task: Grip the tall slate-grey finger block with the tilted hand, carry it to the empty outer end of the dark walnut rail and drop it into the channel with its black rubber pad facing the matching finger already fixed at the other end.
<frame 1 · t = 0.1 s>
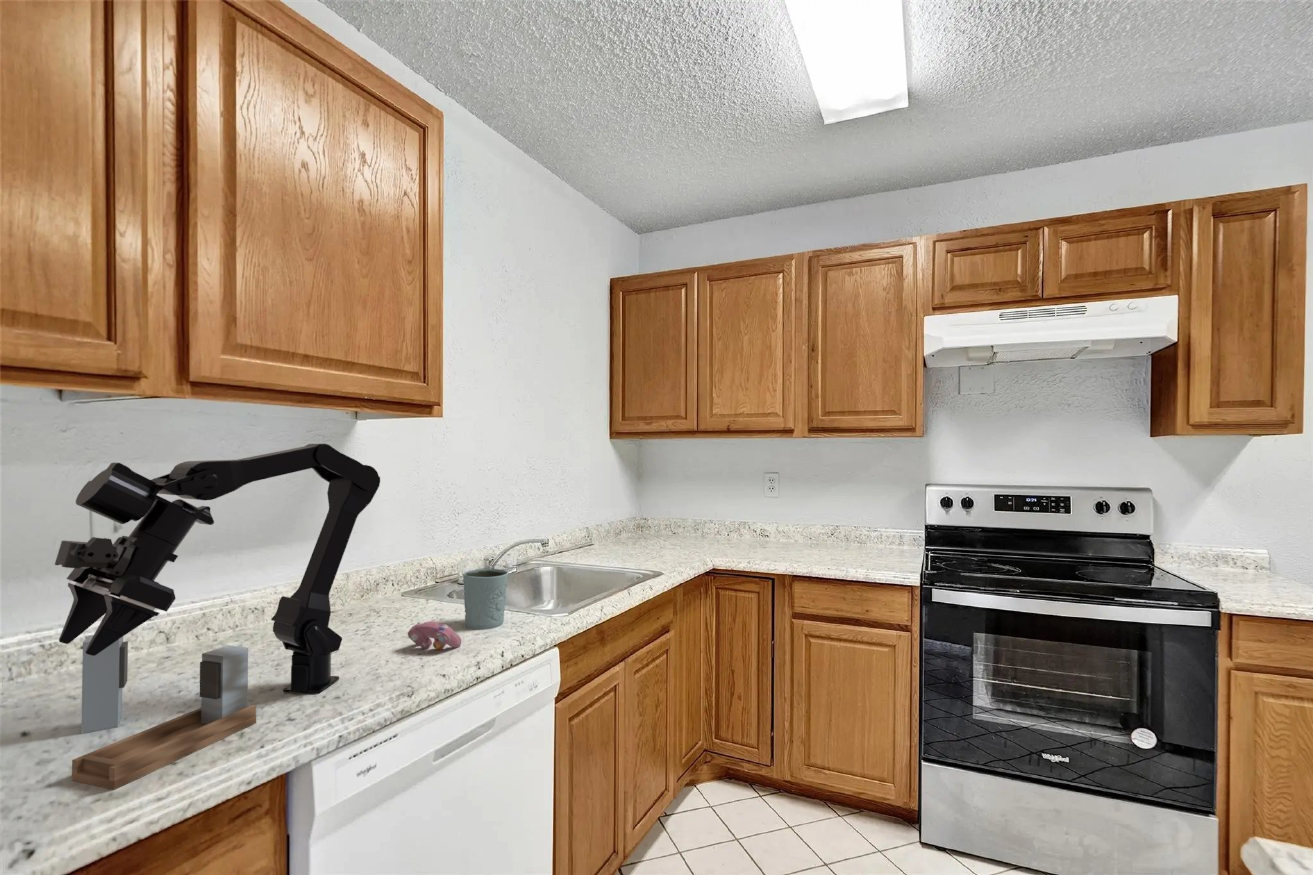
hand: (75, 648, 81), 15 cm above the countertop, tool tilted 35°, fingers open, 9 cm apart
walnut rail: (172, 748, 85), on the countertop
slate finger: (102, 725, 93), on the countertop
video game controller: (434, 649, 128), on the countertop
grey green cup: (485, 624, 146), on the countertop
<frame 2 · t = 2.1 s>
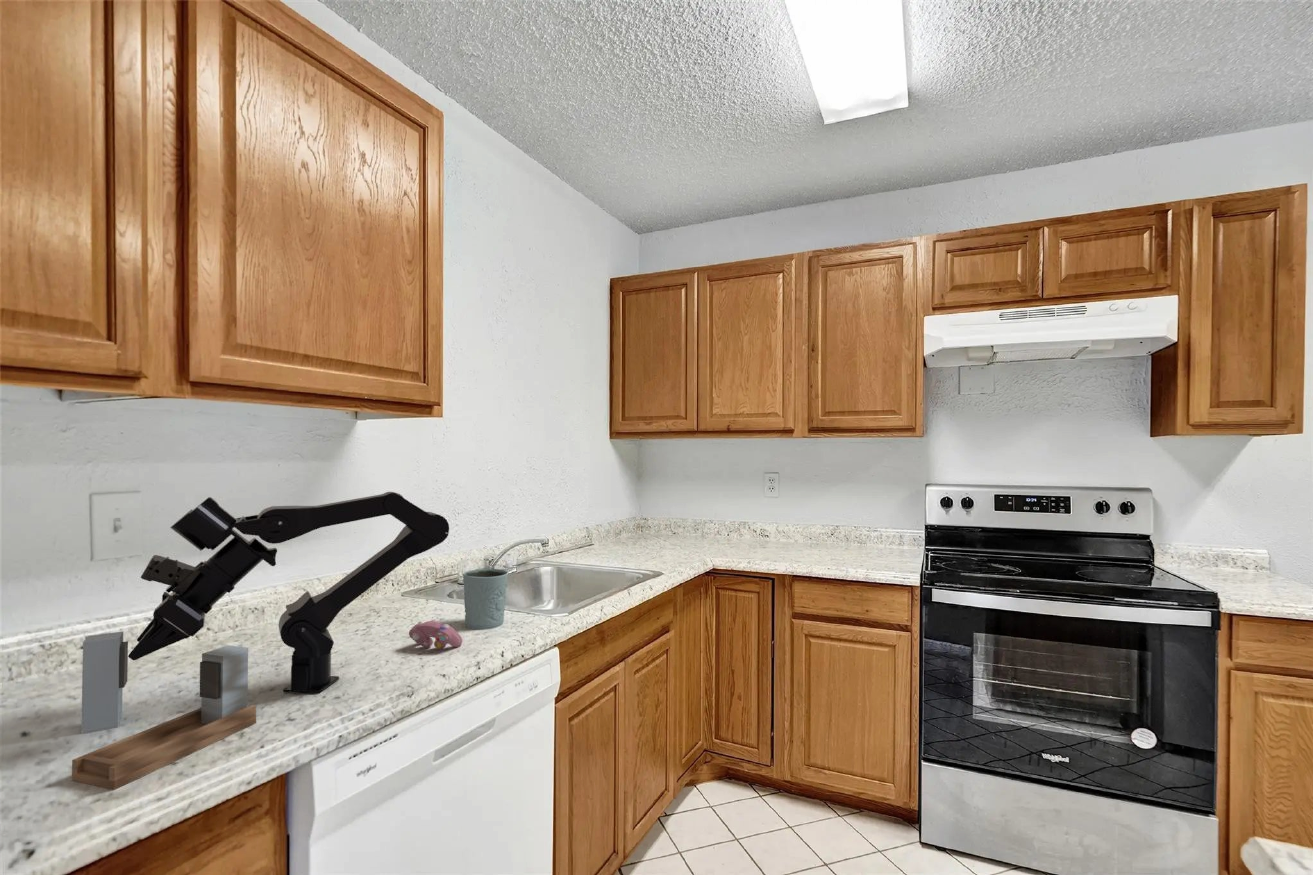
hand: (135, 649, 95), 10 cm above the countertop, tool tilted 45°, fingers open, 9 cm apart
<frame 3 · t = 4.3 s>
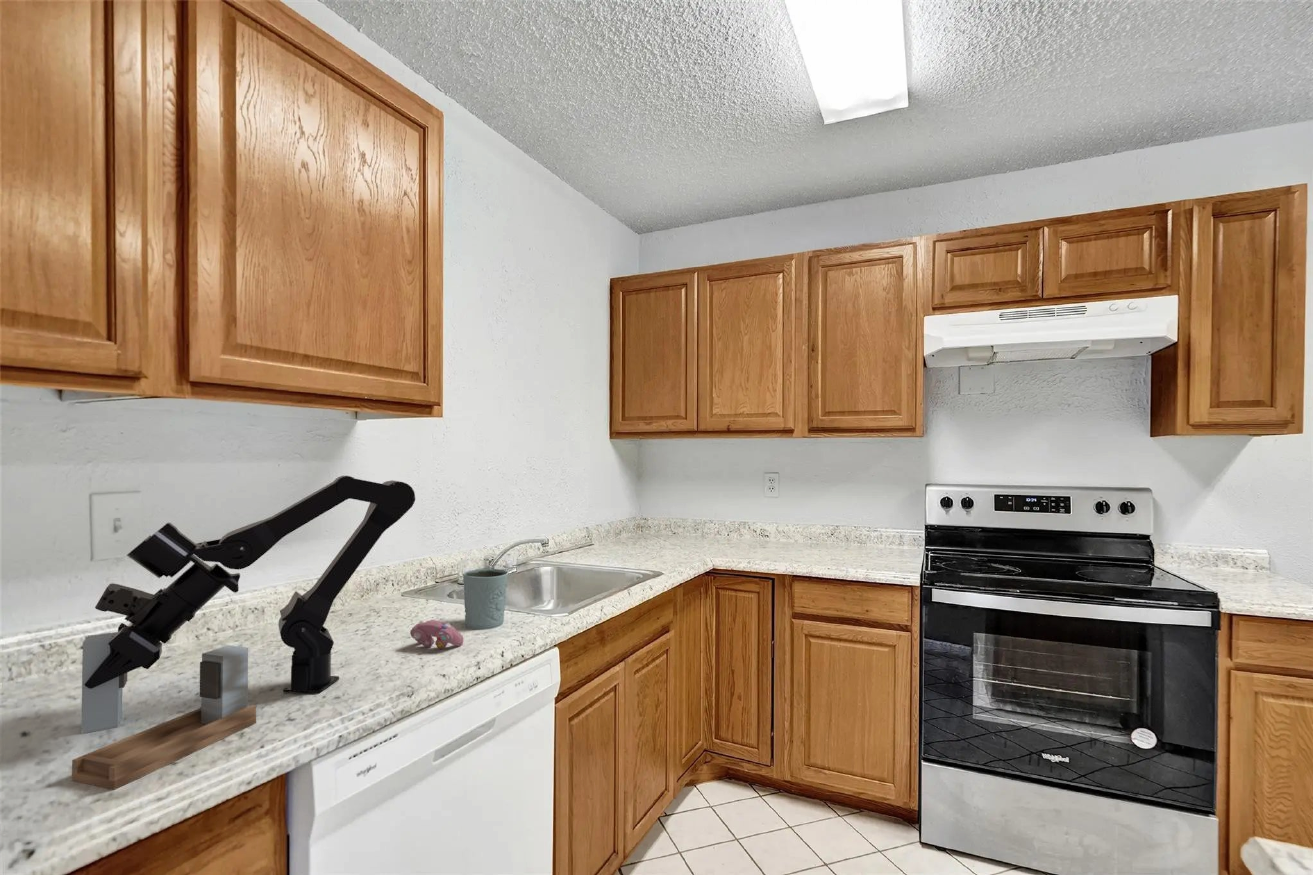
hand: (90, 682, 92), 7 cm above the countertop, tool tilted 45°, fingers closed on slate finger, 4 cm apart
slate finger: (102, 725, 93), on the countertop, touching gripper
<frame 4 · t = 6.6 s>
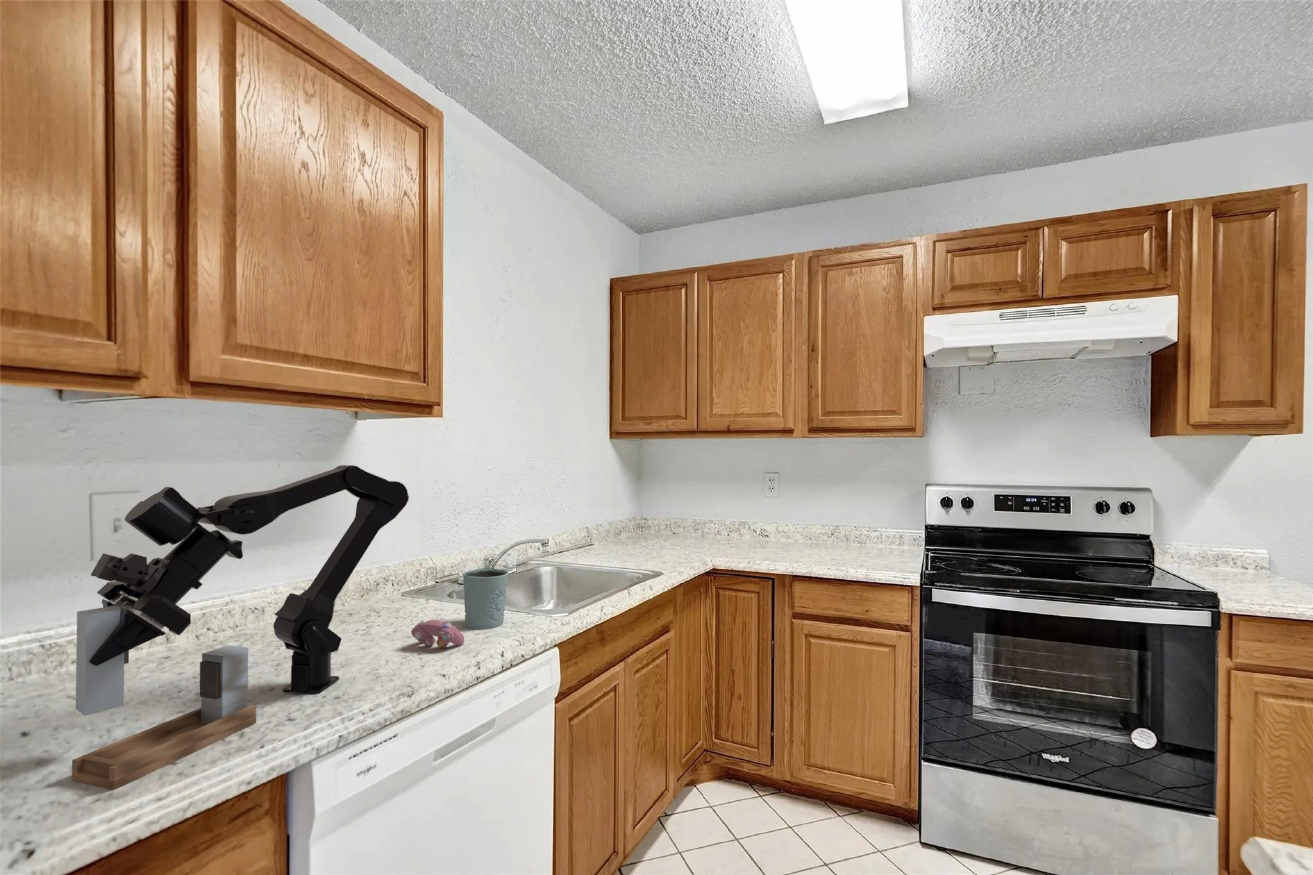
hand: (87, 660, 84), 13 cm above the countertop, tool tilted 45°, fingers closed on slate finger, 4 cm apart
slate finger: (99, 707, 85), point 6 cm above the countertop, touching gripper
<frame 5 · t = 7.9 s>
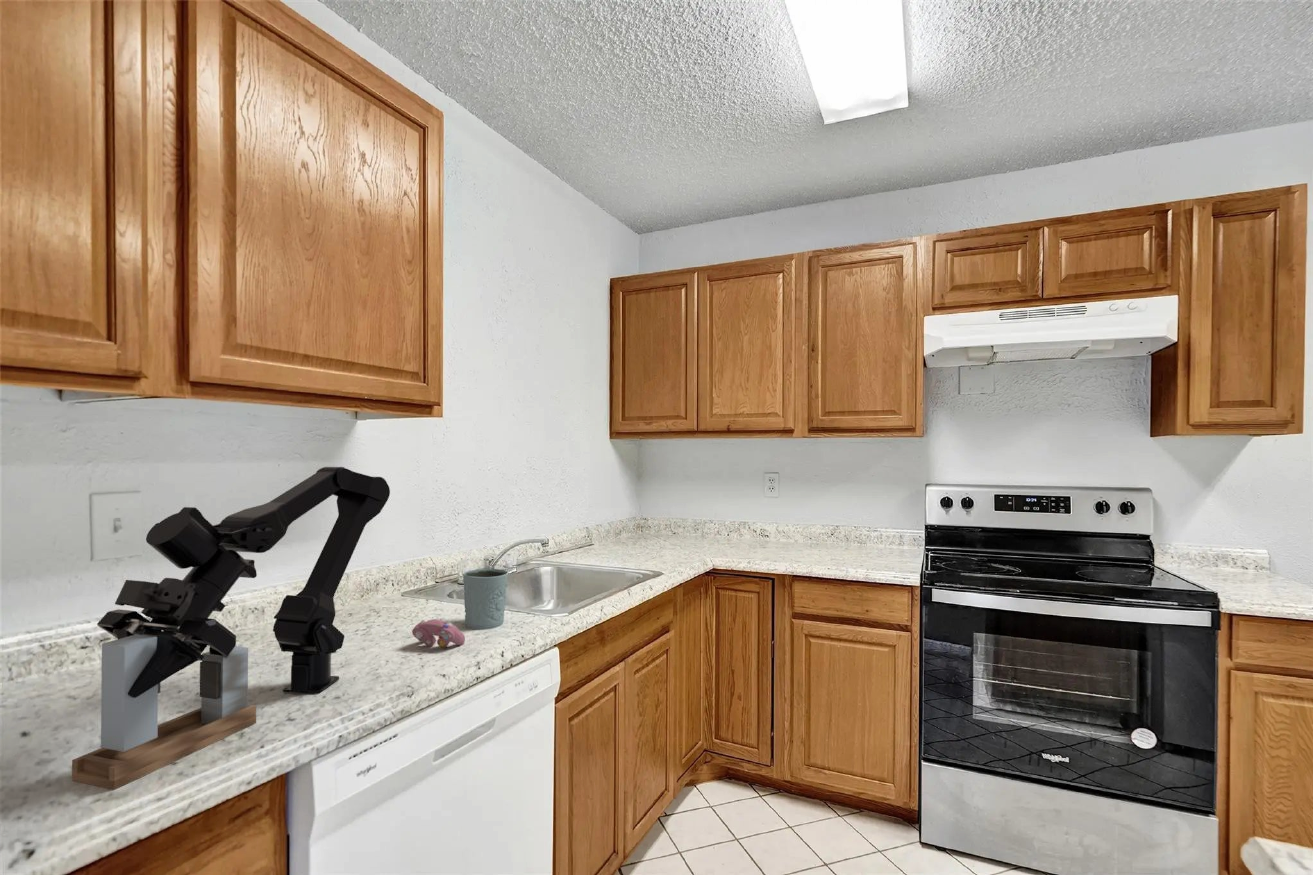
hand: (118, 694, 79), 10 cm above the countertop, tool tilted 45°, fingers closed on slate finger, 4 cm apart
slate finger: (129, 742, 80), point 3 cm above the countertop, touching gripper
when the fingers open (9 cm above the countertop, at t = 8.8 s): slate finger drops 1 cm, resting on walnut rail.
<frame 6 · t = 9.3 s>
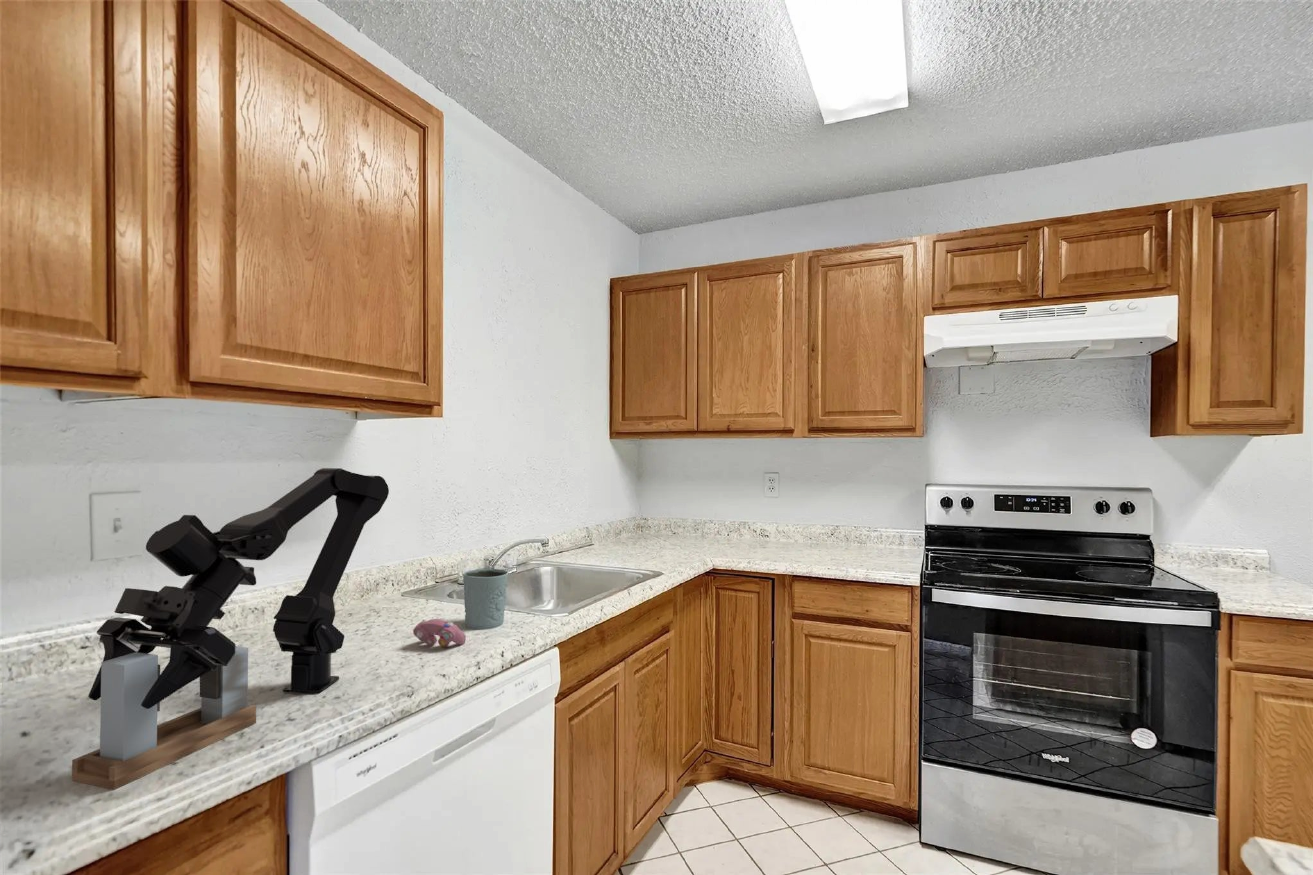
hand: (117, 703, 79), 9 cm above the countertop, tool tilted 45°, fingers open, 9 cm apart
slate finger: (128, 760, 80), point 1 cm above the countertop, touching walnut rail
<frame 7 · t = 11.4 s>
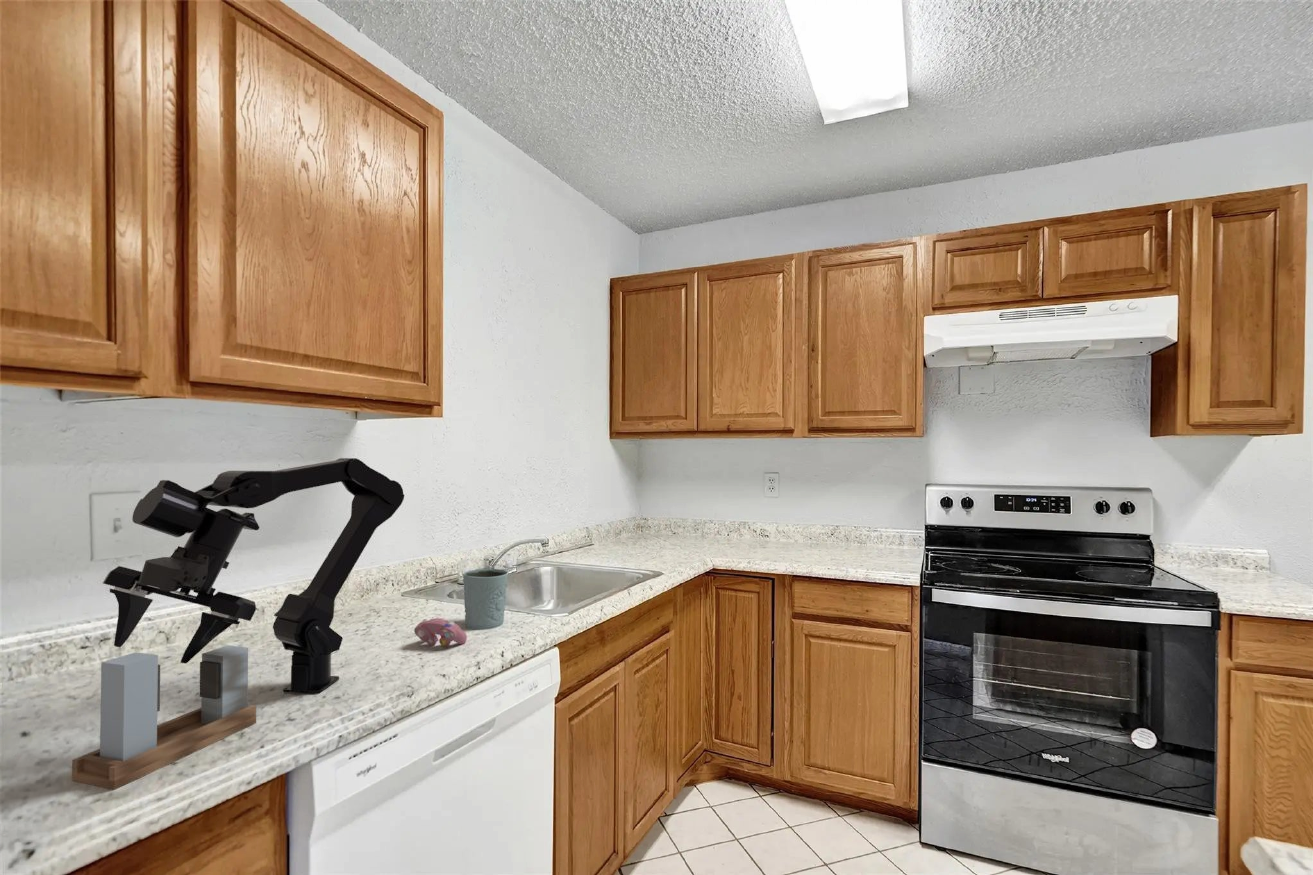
hand: (150, 654, 87), 12 cm above the countertop, tool tilted 25°, fingers open, 9 cm apart
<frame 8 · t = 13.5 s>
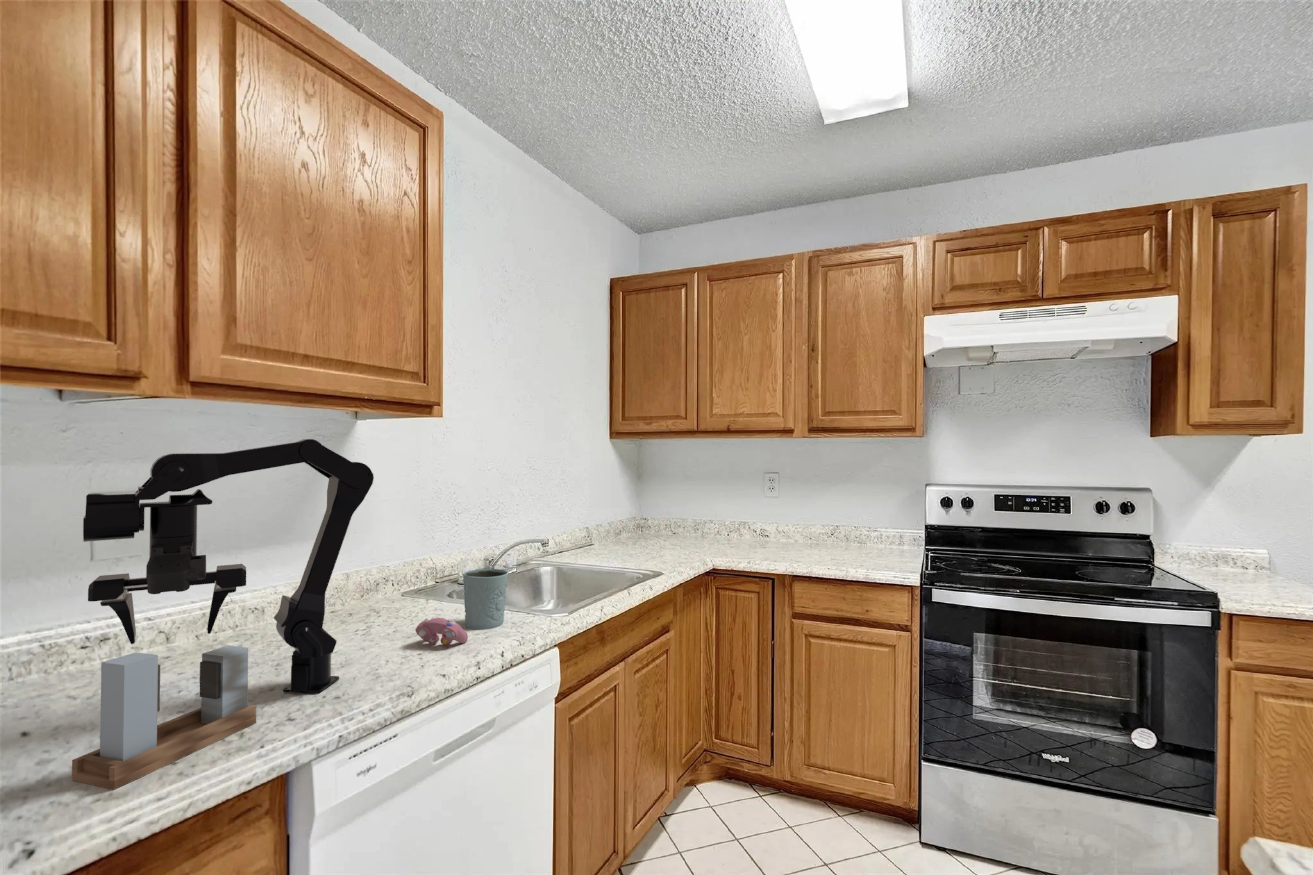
hand: (172, 638, 95), 12 cm above the countertop, tool pointing down, fingers open, 9 cm apart
at the end: slate finger 0.1 cm from the target spot on the walnut rail, point 1.0 cm above the walnut rail's base; slate finger tilted 0°; the gripper is holding nothing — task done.
